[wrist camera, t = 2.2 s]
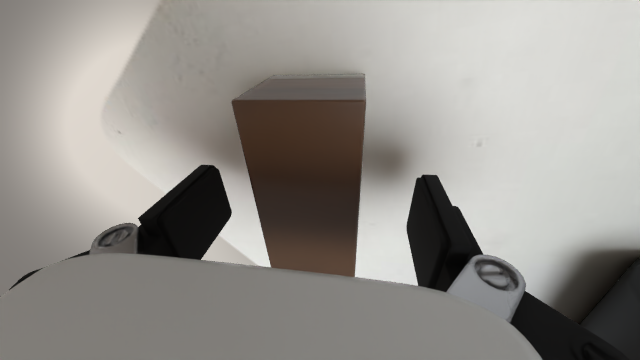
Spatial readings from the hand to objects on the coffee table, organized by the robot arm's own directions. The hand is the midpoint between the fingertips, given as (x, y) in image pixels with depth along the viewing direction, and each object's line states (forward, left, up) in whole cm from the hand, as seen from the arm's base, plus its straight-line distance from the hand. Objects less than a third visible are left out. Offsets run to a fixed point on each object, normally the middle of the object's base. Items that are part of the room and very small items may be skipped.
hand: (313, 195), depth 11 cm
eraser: (0, 0, -3) cm, 3 cm away
